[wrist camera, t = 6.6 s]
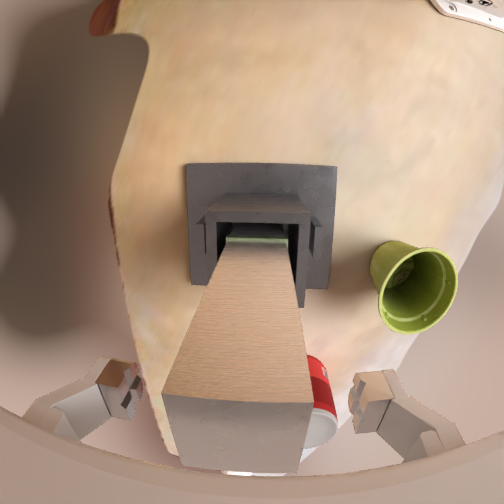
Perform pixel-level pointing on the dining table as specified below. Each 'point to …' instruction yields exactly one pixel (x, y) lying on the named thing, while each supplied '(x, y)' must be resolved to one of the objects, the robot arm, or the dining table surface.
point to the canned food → (320, 407)
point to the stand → (263, 214)
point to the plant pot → (412, 285)
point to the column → (243, 363)
